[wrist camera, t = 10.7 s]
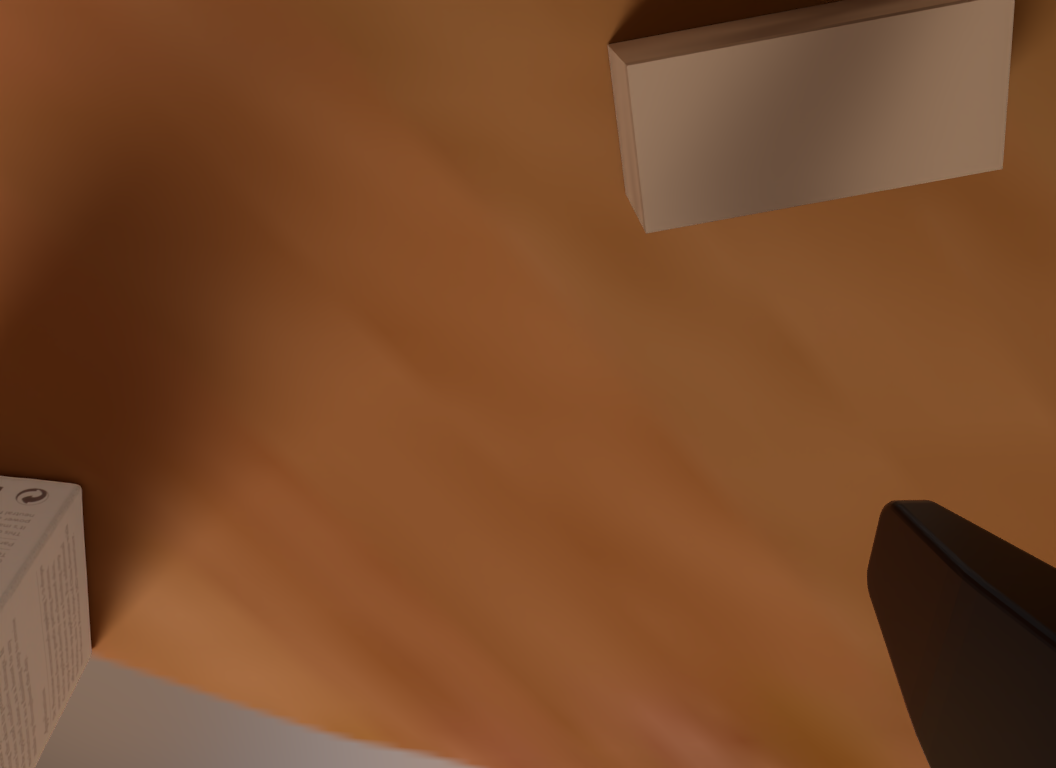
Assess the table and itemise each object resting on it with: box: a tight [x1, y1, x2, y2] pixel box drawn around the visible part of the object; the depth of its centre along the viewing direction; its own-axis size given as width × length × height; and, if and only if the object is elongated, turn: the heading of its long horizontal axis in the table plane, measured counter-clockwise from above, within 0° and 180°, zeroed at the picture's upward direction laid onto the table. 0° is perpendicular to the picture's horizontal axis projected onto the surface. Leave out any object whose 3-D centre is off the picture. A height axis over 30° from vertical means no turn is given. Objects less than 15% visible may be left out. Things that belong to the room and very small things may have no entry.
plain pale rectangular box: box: [608, 0, 1015, 233], centre depth 19 cm, size 7×3×3 cm, turn 100°
